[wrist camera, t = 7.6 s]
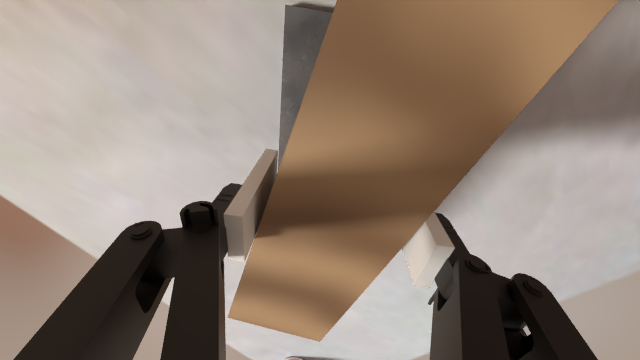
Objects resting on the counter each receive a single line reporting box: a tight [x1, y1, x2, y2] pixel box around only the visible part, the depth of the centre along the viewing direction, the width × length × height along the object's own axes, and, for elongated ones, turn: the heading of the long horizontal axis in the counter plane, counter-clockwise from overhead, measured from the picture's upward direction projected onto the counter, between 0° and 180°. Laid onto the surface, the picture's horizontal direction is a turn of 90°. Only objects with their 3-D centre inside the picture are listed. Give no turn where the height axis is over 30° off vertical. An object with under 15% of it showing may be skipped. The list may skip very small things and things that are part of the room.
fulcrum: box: [278, 5, 333, 170], centre depth 18 cm, size 18×10×7 cm, turn 172°
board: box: [228, 0, 618, 342], centre depth 13 cm, size 22×7×4 cm, turn 158°
